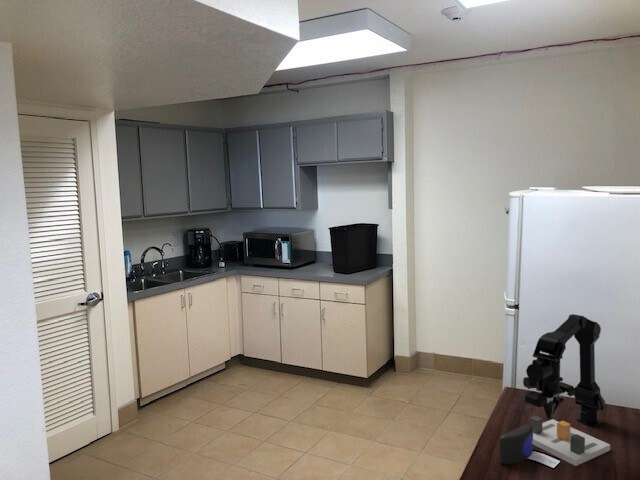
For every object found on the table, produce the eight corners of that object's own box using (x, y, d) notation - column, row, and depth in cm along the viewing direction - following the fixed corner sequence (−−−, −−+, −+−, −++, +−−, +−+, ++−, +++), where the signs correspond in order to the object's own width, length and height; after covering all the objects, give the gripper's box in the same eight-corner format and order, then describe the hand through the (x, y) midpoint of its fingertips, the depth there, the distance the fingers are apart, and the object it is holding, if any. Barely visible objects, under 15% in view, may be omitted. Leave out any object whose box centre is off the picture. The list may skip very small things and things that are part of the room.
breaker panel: (552, 424, 194) (552, 406, 193) (610, 450, 174) (610, 430, 174) (519, 437, 185) (519, 418, 184) (575, 466, 166) (576, 445, 165)
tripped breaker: (562, 434, 181) (562, 420, 181) (570, 437, 179) (570, 424, 178) (556, 436, 180) (557, 422, 179) (564, 440, 177) (564, 426, 177)
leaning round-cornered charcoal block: (509, 469, 165) (510, 441, 164) (497, 463, 169) (497, 435, 168) (540, 453, 174) (541, 426, 173) (528, 447, 178) (528, 421, 177)
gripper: (548, 361, 184) (547, 403, 186) (511, 372, 175) (510, 416, 177) (576, 370, 175) (575, 415, 177) (539, 382, 166) (538, 429, 168)
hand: (549, 418), depth 175 cm, fingers closed
